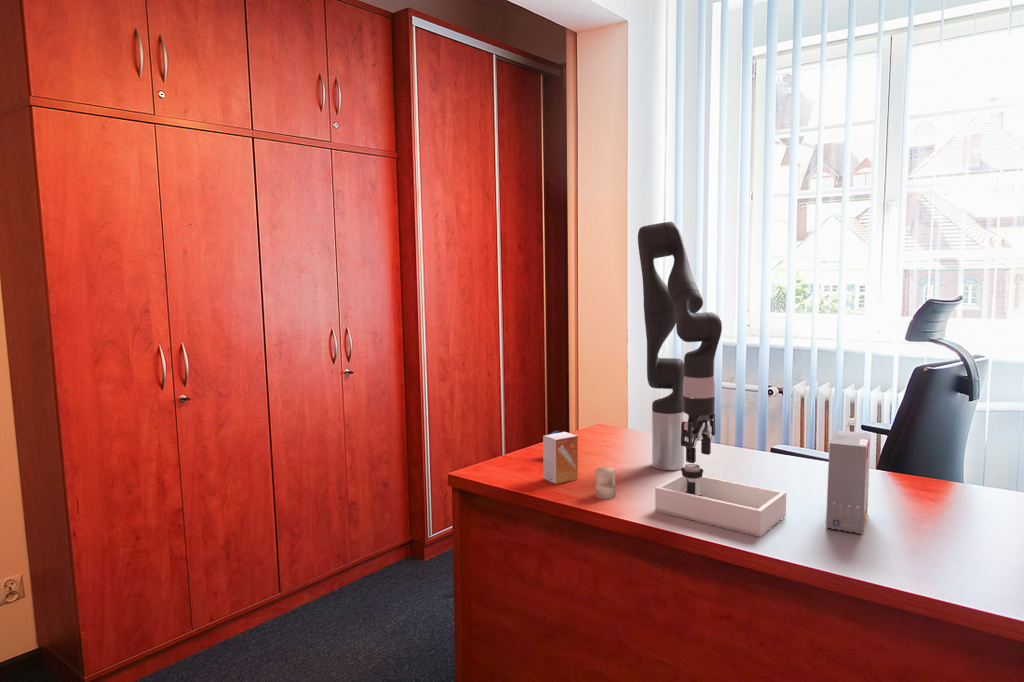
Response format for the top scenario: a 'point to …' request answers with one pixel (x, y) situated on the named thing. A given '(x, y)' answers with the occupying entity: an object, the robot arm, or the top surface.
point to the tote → (723, 504)
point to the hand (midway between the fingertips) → (698, 458)
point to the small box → (560, 457)
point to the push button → (692, 478)
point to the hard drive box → (848, 481)
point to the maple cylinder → (605, 483)
